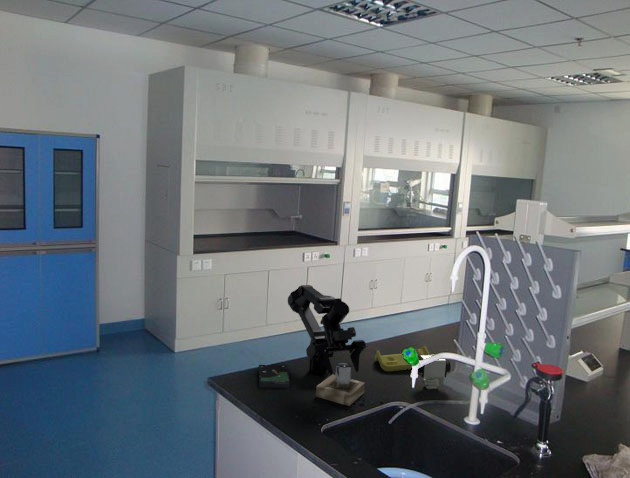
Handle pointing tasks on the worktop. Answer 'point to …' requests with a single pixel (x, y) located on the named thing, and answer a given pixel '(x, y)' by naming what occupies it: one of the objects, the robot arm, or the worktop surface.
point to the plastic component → (397, 360)
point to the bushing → (343, 376)
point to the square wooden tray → (339, 391)
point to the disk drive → (273, 376)
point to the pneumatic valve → (433, 371)
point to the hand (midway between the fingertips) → (344, 373)
